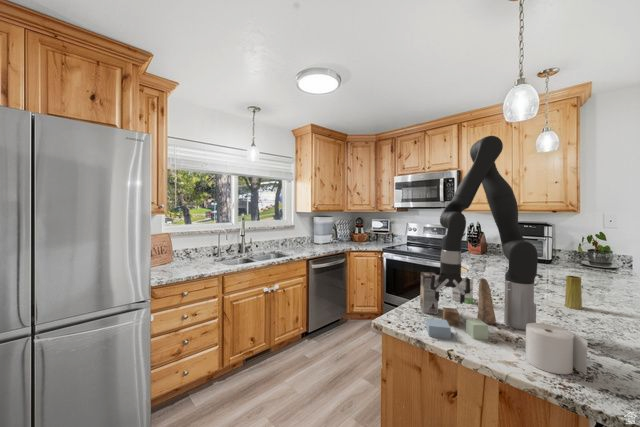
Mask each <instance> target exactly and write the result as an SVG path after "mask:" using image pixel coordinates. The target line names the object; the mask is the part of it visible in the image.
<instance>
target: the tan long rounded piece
mask: <svg viewBox="0 0 640 427" xmlns="http://www.w3.org/2000/svg"><path fill="white" fill-rule="evenodd" d="M477 303H478V305H477V309H478V310H477V315H476V316H477V317H476V318H477V319H480V320H482V321H483V322H484V323H486V324H487V325H495V324H497V318H496V313H495V310H494V304H493V299H492V294H491V288H490V285H489V283H488V280H487V279H485V278H483V277H482V278H480V280H479V283H478V302H477Z"/></svg>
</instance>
